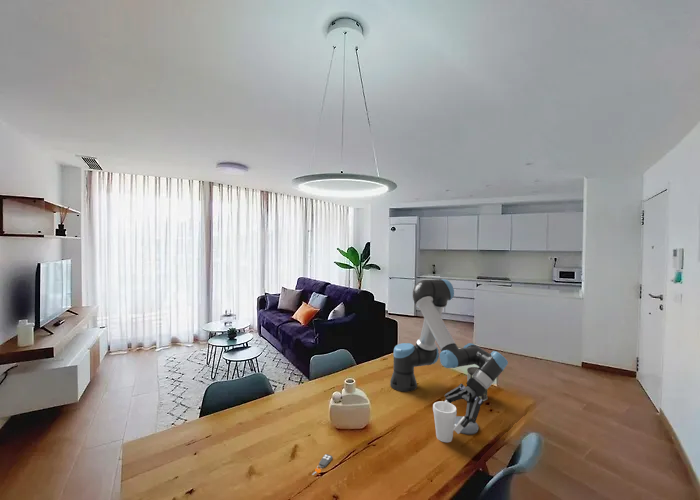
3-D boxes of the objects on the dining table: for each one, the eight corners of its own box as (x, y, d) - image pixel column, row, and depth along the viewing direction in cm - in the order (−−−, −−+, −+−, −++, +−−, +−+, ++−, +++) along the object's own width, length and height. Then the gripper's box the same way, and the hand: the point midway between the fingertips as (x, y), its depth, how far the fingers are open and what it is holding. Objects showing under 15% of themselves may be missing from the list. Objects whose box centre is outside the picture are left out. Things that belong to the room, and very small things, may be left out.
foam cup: (456, 433, 131) (456, 403, 131) (456, 446, 123) (456, 414, 123) (433, 429, 135) (433, 399, 134) (431, 441, 126) (432, 410, 126)
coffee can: (482, 392, 170) (483, 366, 170) (490, 401, 159) (491, 374, 159) (464, 391, 170) (464, 366, 170) (471, 401, 160) (471, 374, 159)
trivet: (452, 432, 132) (452, 429, 132) (447, 417, 144) (447, 414, 144) (481, 435, 130) (481, 432, 130) (474, 420, 142) (474, 417, 142)
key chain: (324, 456, 117) (324, 452, 117) (333, 459, 116) (333, 455, 116) (306, 479, 105) (306, 475, 105) (315, 483, 104) (315, 478, 104)
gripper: (504, 403, 119) (470, 446, 116) (467, 376, 144) (438, 411, 141) (492, 390, 118) (457, 434, 115) (457, 366, 142) (427, 401, 140)
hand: (446, 422), depth 128 cm, fingers open, 13 cm apart
